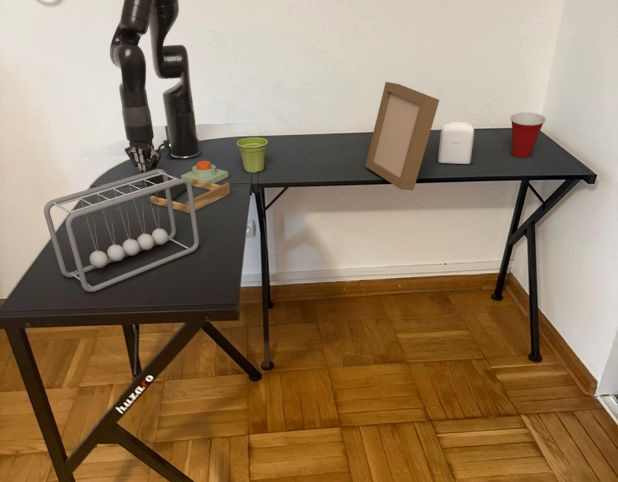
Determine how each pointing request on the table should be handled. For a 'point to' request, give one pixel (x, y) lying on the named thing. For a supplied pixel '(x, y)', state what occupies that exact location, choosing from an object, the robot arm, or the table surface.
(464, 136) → the photo printer
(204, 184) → the wooden frame
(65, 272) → the newton's cradle
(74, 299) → the table surface
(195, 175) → the switch box
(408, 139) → the photo frame
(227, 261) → the table surface
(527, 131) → the plastic cup
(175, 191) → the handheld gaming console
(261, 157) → the plant pot
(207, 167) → the power button
